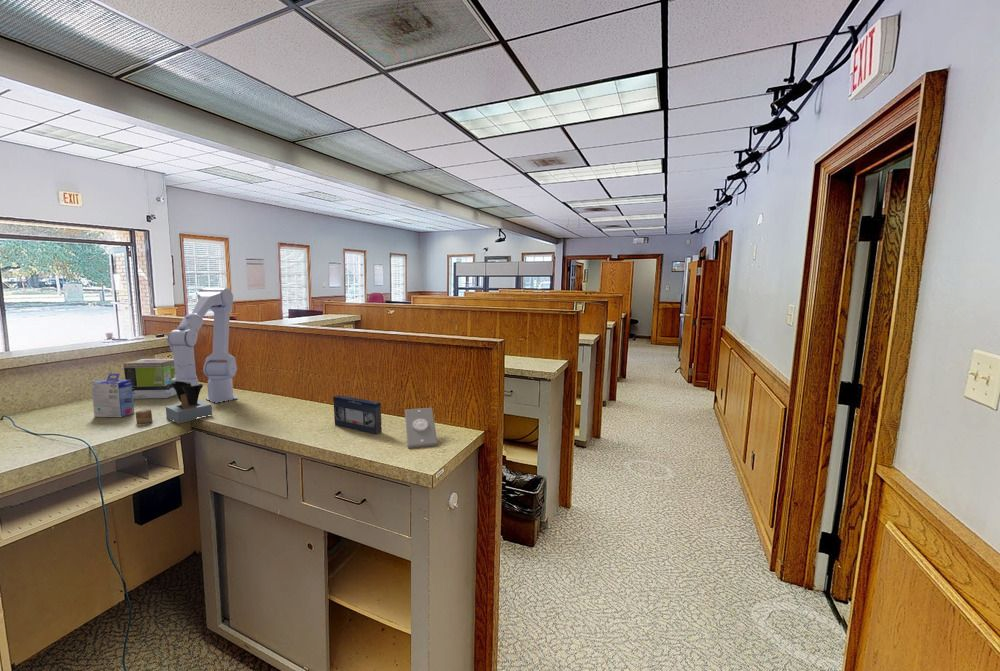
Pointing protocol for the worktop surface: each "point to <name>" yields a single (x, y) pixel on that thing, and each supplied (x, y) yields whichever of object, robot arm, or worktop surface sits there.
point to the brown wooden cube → (144, 416)
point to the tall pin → (185, 402)
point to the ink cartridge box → (112, 397)
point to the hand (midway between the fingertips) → (188, 403)
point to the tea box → (151, 378)
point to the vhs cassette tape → (357, 414)
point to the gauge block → (188, 412)
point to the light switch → (420, 428)
